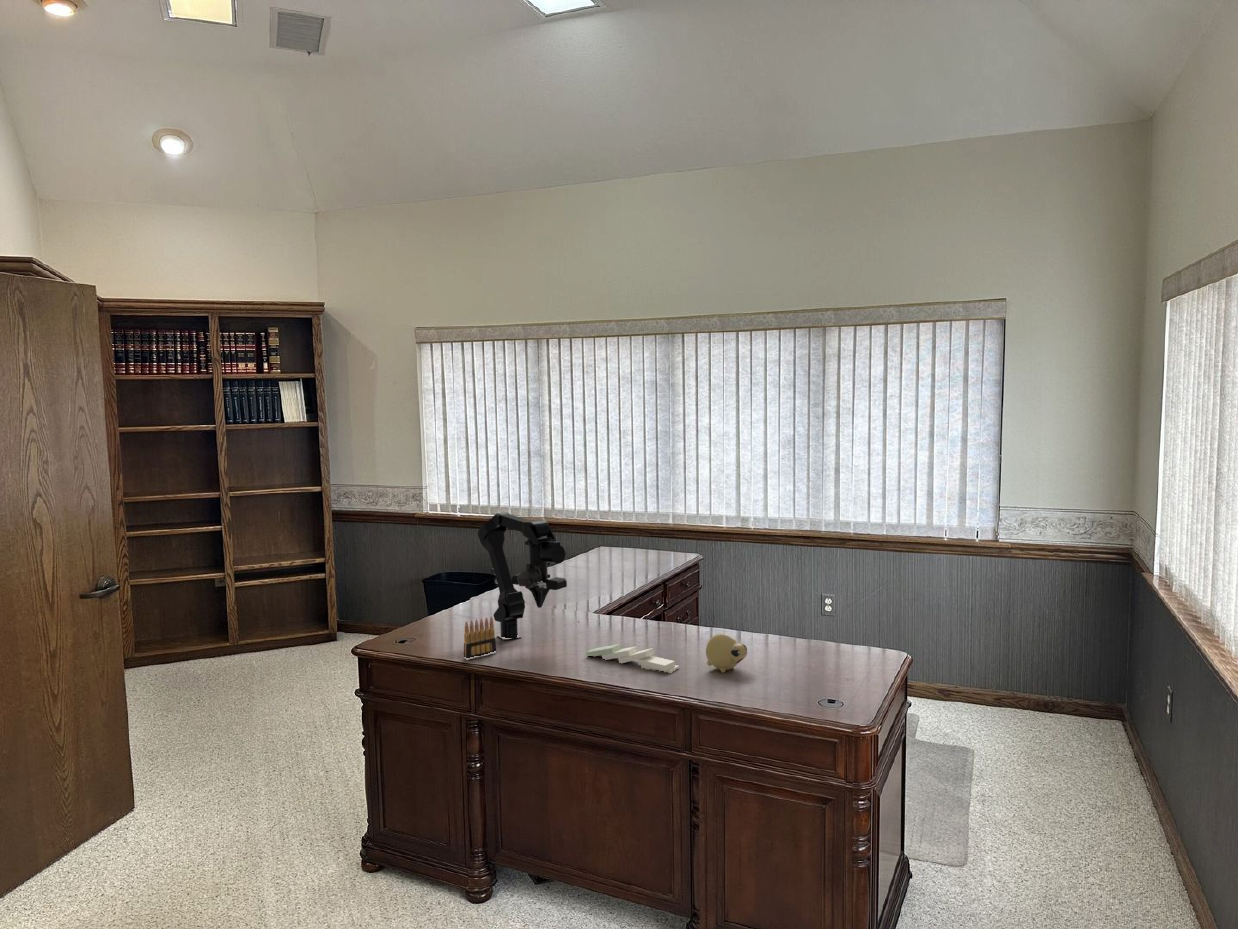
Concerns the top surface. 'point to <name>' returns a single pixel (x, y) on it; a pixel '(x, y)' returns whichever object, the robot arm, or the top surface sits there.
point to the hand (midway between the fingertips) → (539, 607)
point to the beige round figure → (724, 652)
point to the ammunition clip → (479, 639)
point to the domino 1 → (604, 650)
